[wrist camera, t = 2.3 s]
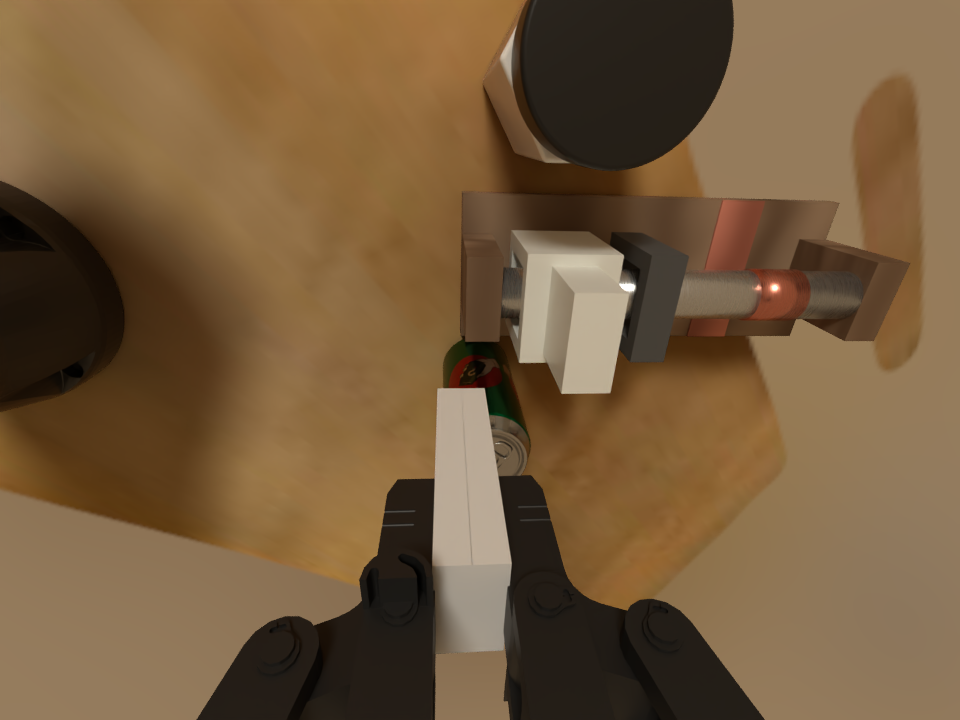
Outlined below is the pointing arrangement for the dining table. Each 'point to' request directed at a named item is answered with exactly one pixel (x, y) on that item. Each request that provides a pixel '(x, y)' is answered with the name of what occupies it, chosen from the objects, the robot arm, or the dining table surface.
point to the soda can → (492, 399)
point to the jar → (608, 77)
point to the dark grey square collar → (650, 294)
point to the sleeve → (569, 307)
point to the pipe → (736, 294)
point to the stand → (687, 228)
